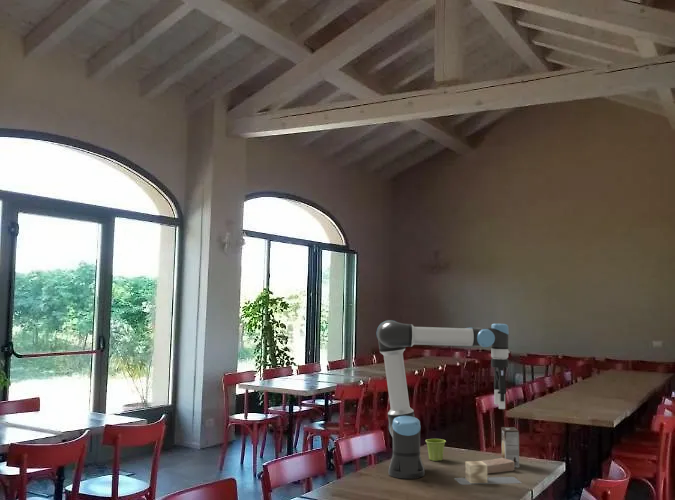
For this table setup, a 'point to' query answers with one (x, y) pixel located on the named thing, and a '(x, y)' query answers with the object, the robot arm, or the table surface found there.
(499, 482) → the rubber mat
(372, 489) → the table surface
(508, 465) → the brick
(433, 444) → the plant pot
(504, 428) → the coffee box
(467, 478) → the beech block
